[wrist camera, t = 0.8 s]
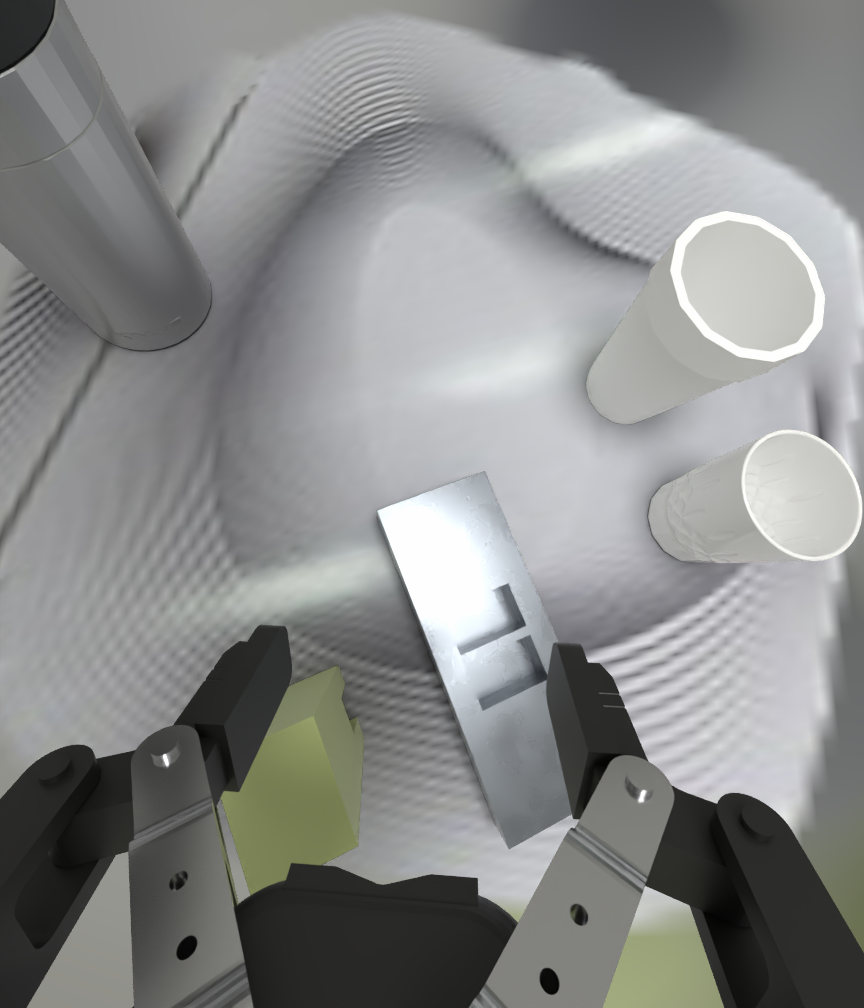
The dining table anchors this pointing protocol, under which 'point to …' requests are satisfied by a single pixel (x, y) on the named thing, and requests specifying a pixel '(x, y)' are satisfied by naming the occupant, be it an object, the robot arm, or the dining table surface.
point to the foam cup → (708, 318)
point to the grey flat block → (484, 645)
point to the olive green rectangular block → (300, 785)
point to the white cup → (761, 504)
